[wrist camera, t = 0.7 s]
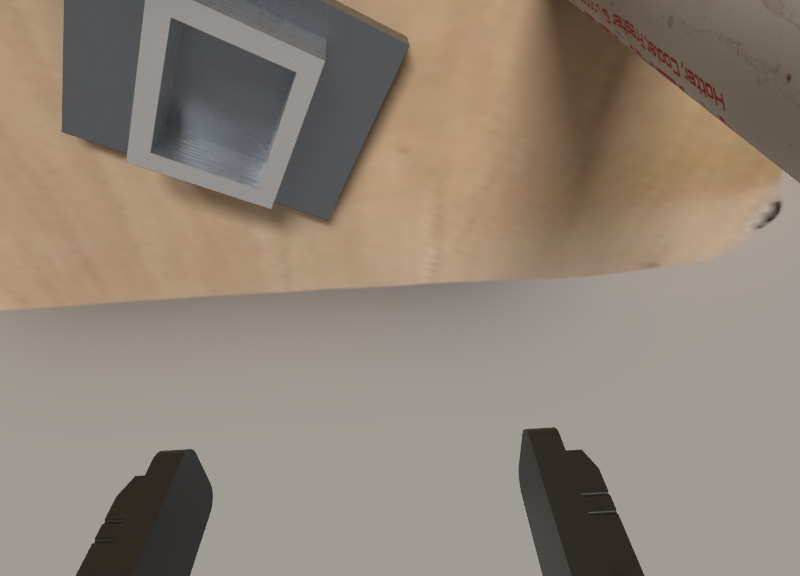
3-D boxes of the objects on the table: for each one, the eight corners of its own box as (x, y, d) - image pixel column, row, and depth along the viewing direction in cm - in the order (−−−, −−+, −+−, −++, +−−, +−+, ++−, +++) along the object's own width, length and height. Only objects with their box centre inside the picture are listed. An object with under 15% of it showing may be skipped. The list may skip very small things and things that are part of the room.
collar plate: (71, 121, 32) (36, 159, 28) (79, -131, 23) (31, -122, 20) (328, 208, 38) (327, 248, 35) (407, 37, 30) (415, 66, 26)
